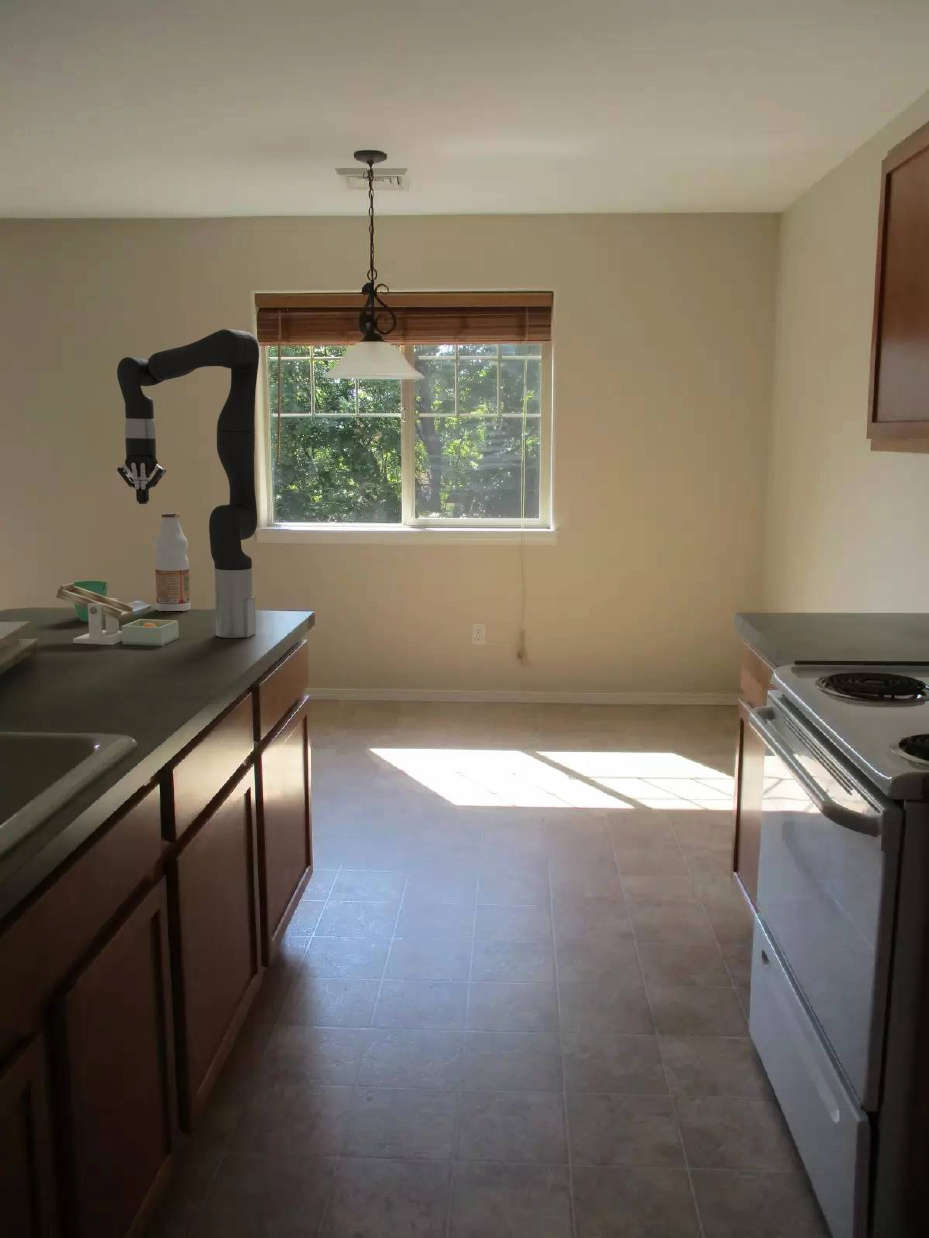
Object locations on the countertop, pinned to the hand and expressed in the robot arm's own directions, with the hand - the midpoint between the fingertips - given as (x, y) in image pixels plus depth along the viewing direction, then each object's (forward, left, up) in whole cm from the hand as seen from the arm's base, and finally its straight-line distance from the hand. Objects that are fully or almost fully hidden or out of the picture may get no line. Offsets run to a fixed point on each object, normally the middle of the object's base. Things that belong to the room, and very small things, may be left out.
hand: (142, 503), depth 265 cm
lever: (+3, +17, -24) cm, 29 cm away
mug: (+18, -4, -32) cm, 37 cm away
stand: (+1, +22, -32) cm, 39 cm away
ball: (-11, +22, -29) cm, 38 cm away
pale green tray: (-11, +22, -32) cm, 40 cm away
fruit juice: (+2, -22, -32) cm, 39 cm away
